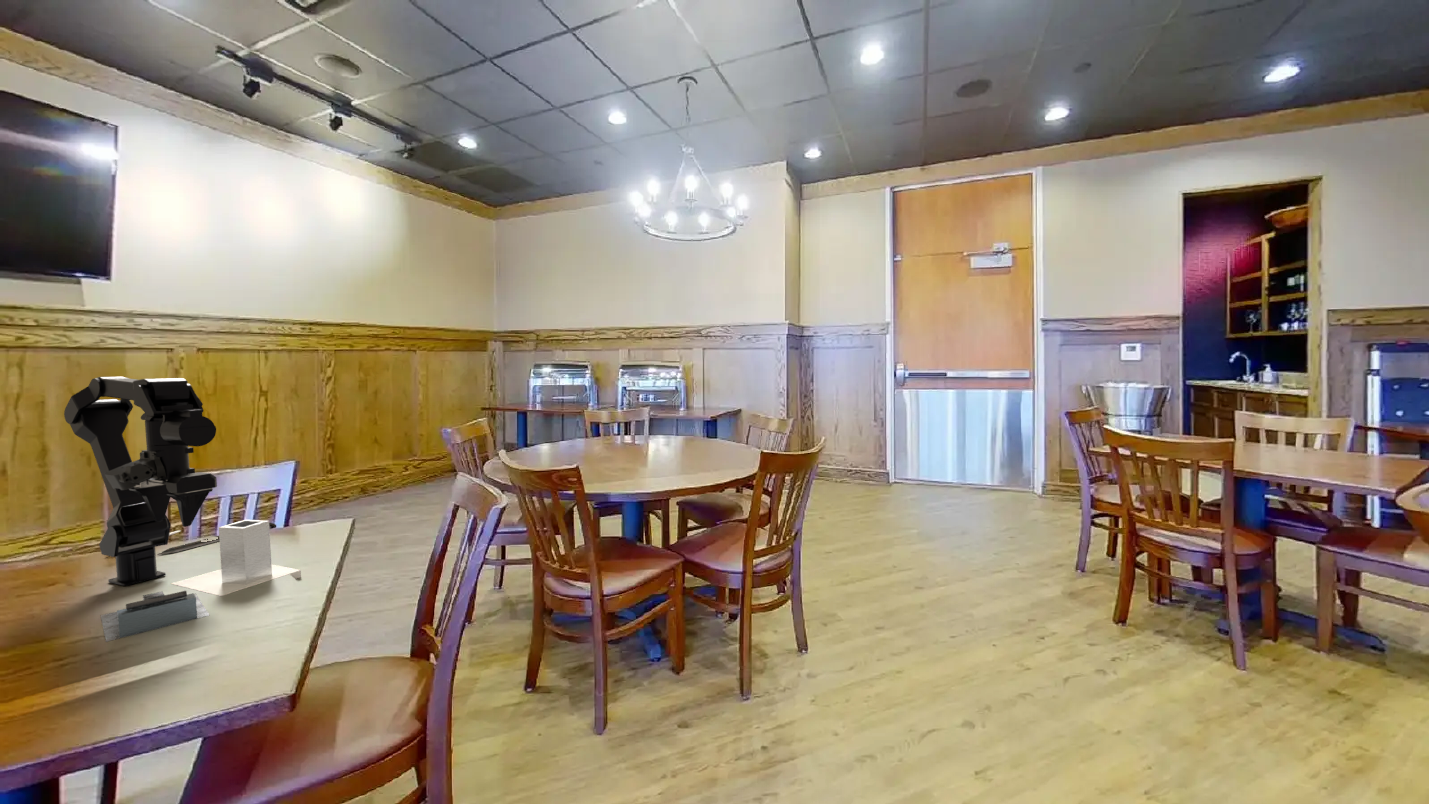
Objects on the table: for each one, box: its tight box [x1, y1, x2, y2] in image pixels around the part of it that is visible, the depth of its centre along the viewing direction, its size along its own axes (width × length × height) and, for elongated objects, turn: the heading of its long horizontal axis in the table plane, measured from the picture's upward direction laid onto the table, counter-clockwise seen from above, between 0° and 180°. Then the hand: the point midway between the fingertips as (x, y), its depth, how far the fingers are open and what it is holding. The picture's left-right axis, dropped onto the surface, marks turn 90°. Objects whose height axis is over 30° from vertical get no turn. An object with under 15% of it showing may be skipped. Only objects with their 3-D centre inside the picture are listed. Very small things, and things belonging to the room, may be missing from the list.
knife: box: [156, 521, 277, 556], centre depth 143 cm, size 25×6×1 cm, turn 157°
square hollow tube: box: [218, 519, 273, 585], centre depth 112 cm, size 5×5×11 cm
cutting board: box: [170, 563, 302, 597], centre depth 114 cm, size 16×14×2 cm
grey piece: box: [100, 590, 210, 643], centre depth 96 cm, size 14×12×6 cm
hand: (172, 523), depth 110 cm, fingers open, 9 cm apart
